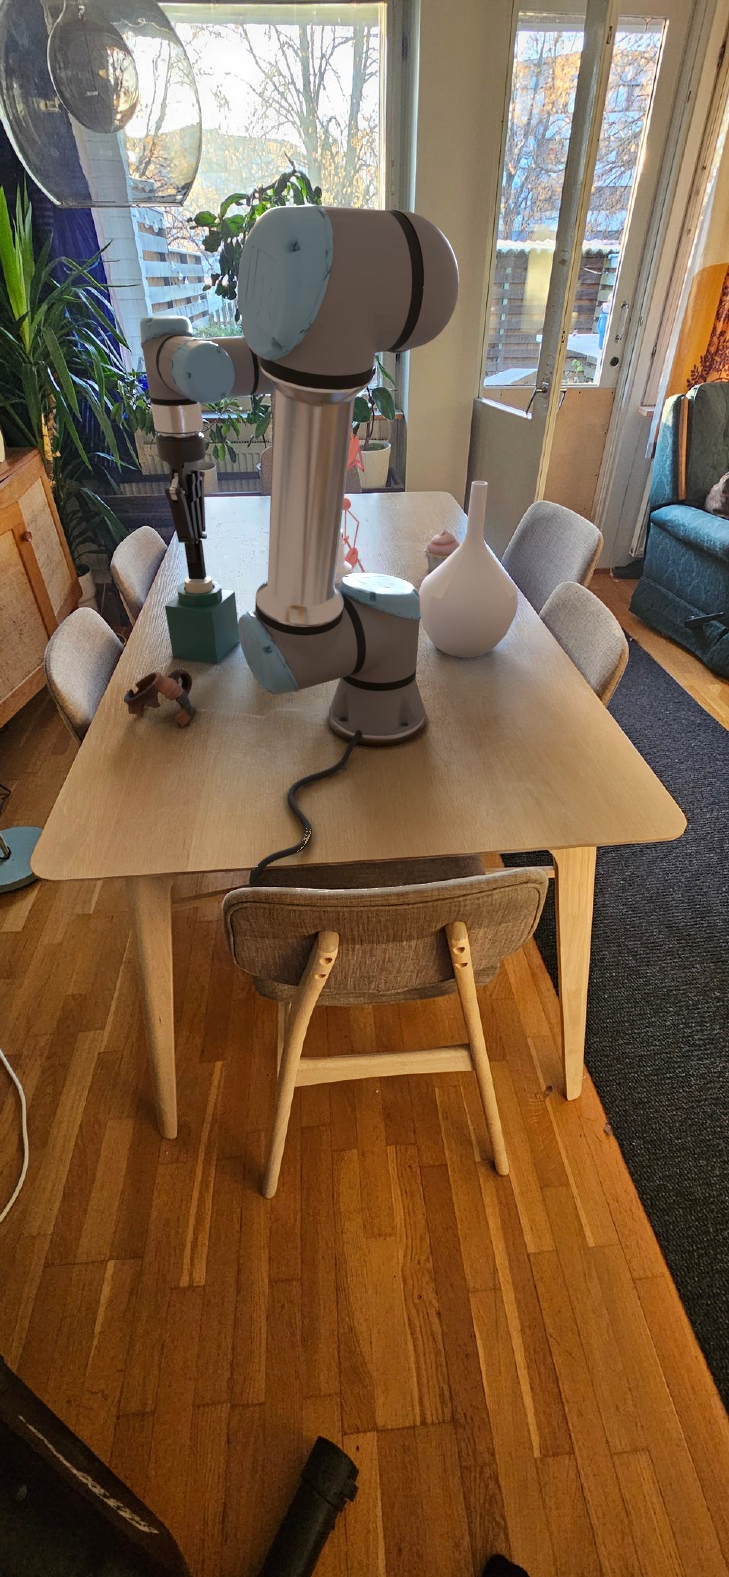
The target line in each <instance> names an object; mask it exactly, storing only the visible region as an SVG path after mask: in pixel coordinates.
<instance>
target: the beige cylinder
mask: <svg viewBox="0 0 729 1577" xmlns="http://www.w3.org/2000/svg"><path fill="white" fill-rule="evenodd" d="M212 581H213V578H212V577H211V576H210V575H208V574H206V578H205V579H204V580H199V579H189V576H187V577H185V578H184V583H185V588H186V592H188V593H205V592H209V591H212V590H213V585H212Z"/></svg>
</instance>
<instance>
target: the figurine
mask: <svg viewBox="0 0 729 1577" xmlns="http://www.w3.org/2000/svg"><path fill="white" fill-rule="evenodd" d="M353 432H354V428H352V429H351V438H350V448H349V457H348V466H347V471H349V470H350V469H351V468H353V467H355V466H357V467H358V469H360V471H361V472H362V473H365V466H364V460H363V456H362V450H361V446H360V445H361V443H360V442H361V441H360V440H359V439H360V437H359V436H358V435H355V436H354V433H353ZM357 456H358V458H359V459H358V458H357ZM351 506H352V502H351V500H350V499H349V498H348V497H345V496H344V503H343V511H344V534H343V539H344V547H345V546H346V545H347V548H348V549H349V550H348V552H347V553H346V554H345V561H346V562H348V563H349V564H350V565H351V566H352V570H353V569H354V568H355V566H356V564H357V565H358V566H359V568H360V570H361V573H366V570H365V569H364V567H363V565H362V563H361V561H360V558H359V550H358V548H357V547H356V541H357V537H358V532H359V526H360V521H359V520H358V519H357V518H356V516H354V514H353V513H352V512H351V511H350V508H351ZM347 513H348V514H349V515H350V516H351V517H352V518H353V519H354V520H355V522H356V530H355V533H354V534H355V535H354V540H353V546H351V544H350V542H349V538H350V535H347Z"/></svg>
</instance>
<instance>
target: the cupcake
mask: <svg viewBox="0 0 729 1577" xmlns="http://www.w3.org/2000/svg"><path fill="white" fill-rule="evenodd" d="M459 546H460V543H459V541H458V540H457V539H456V537H455V535H454V534H453V533H452V532H451V531H449V530H446V529H443V530H442V531H441V532H440V533H438V534H435V535H434V536H433V537H432V539H430V541H429V542H428V543H427V545H426V548H425V549H423V552H424V555H425V558H426V560H427V561H426V562H427V567H428V571H429V574H430V573H431V572H433V571H434V570H435V569H436V568H437V567H438V566H440V565H441V564H442V563H443V562H444V561H445V560H446V559H447V558H448V557H449V556H450V555H451V554H452V553H453V552H454V551H455V550H456V549H457V548H458V547H459Z"/></svg>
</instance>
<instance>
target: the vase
mask: <svg viewBox="0 0 729 1577" xmlns="http://www.w3.org/2000/svg"><path fill="white" fill-rule="evenodd" d="M488 485H489V484H488V482H487V481H484V480H474V481H472V482H471V488H470V494H469V501H468V502H469V503H468V511H467V520H466V530H465V535H464V537H463V540H462V541H461V542H460V543H459V545H460V546H459V547H458V548H457V549H456V550H455V551H454V552H453V553H452V554H451V555H450V556H449V557H448V558H447V559H446V560H445V561H444V562H443V563H442V564H441V565H440V566H438V567H437V568H436V569H435V570H434V571H433V572H431V573H430V572H429V574H428V575H426V576H425V577H424V579H423V580H422V581H421V584H420V588H419V590H418V593H419V595H420V614H421V619H420V622H421V624H422V628H423V630H424V631H425V633H426V635H427V637H428V638H429V640H430V641H431V643H432V644H433V645H434V646H435V647H436V648H437V649H438V650H440V651H441V652H442V653H444V654H446V655H449V656H452V657H459V658H476V657H479V656H483V655H485V654H487V653H488V652H490V651H492V650H493V649H494V648H495V647H497V645H499V643H500V642H501V641H502V640H503V639H504V638H505V637H506V635H507V633H508V631H509V629H510V627H511V625H512V623H513V622H514V619H515V618H516V615H517V611H518V606H519V596H518V595H519V594H518V588H517V584H515V582H514V581H513V580H512V579H511V578H510V576H509V575H508V574H507V573H506V572H505V570H504V569H503V567H501V565H500V564H499V562H498V561H497V560H496V559H495V557H494V555H493V554H492V553H491V551H490V550H489V549H488V547H487V544H486V541H485V538H484V528H485V519H486V508H487V496H488Z"/></svg>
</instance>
